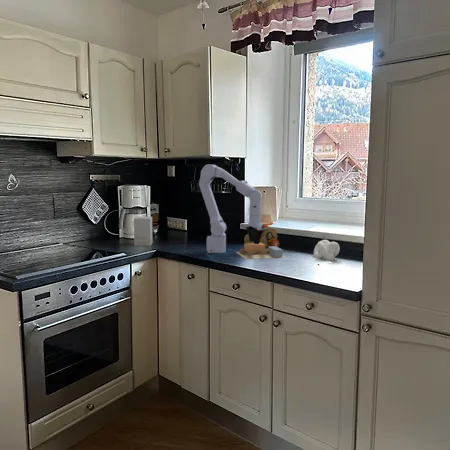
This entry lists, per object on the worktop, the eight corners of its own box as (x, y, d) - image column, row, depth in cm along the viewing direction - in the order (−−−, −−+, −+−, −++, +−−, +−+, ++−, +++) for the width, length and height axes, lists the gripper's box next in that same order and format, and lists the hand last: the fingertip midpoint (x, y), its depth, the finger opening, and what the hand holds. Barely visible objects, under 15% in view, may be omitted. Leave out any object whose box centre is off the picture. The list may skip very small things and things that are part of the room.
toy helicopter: (281, 248, 227) (281, 222, 225) (249, 251, 216) (250, 225, 214) (271, 245, 233) (272, 221, 232) (240, 249, 222) (240, 223, 221)
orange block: (247, 254, 204) (247, 245, 204) (244, 252, 209) (244, 243, 208) (264, 253, 206) (264, 244, 206) (261, 251, 211) (261, 242, 211)
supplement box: (153, 243, 237) (152, 216, 235) (150, 246, 228) (150, 218, 226) (136, 242, 237) (136, 216, 235) (133, 245, 228) (133, 218, 226)
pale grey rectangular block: (274, 257, 198) (274, 250, 198) (268, 253, 207) (268, 246, 206) (282, 257, 199) (282, 249, 199) (275, 253, 208) (275, 246, 207)
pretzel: (306, 258, 201) (307, 240, 200) (323, 255, 208) (323, 237, 207) (325, 263, 192) (326, 243, 191) (342, 260, 199) (343, 241, 198)
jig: (245, 261, 194) (245, 255, 193) (235, 253, 210) (235, 248, 210) (286, 259, 199) (286, 254, 198) (273, 252, 215) (273, 247, 215)
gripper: (267, 216, 199) (267, 245, 201) (258, 213, 213) (257, 239, 215) (253, 216, 197) (252, 245, 199) (244, 213, 211) (244, 240, 213)
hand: (254, 242), depth 207 cm, fingers open, 7 cm apart
